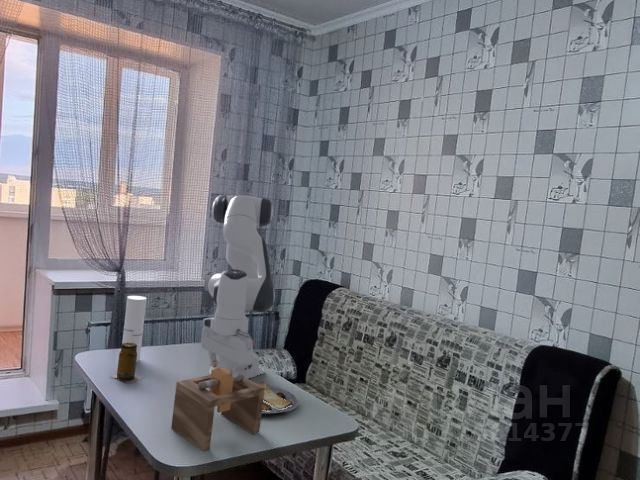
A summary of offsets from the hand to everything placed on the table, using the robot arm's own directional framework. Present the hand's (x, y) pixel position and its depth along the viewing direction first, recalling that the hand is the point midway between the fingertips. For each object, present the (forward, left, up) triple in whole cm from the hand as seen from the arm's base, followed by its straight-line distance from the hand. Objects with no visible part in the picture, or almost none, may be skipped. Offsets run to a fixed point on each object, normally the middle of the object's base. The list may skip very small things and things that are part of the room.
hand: (223, 371), depth 147 cm
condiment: (+2, -50, -18) cm, 53 cm away
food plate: (-26, -9, -18) cm, 33 cm away
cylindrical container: (-8, -67, -18) cm, 70 cm away
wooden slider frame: (0, 0, -18) cm, 18 cm away
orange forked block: (0, 0, -11) cm, 11 cm away
